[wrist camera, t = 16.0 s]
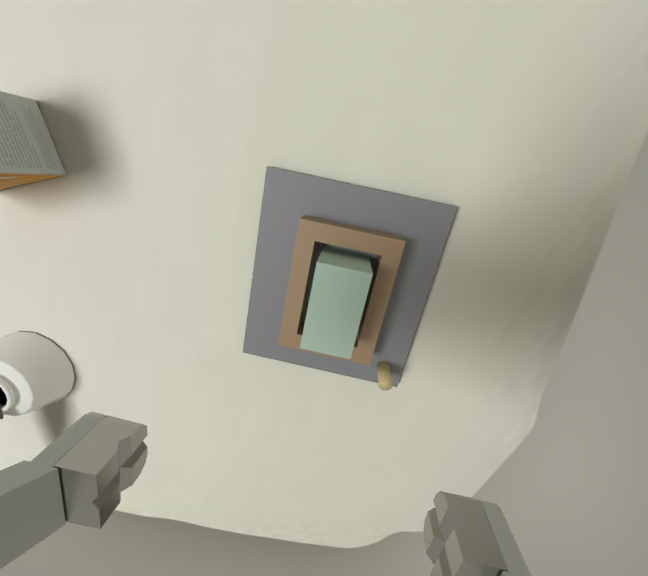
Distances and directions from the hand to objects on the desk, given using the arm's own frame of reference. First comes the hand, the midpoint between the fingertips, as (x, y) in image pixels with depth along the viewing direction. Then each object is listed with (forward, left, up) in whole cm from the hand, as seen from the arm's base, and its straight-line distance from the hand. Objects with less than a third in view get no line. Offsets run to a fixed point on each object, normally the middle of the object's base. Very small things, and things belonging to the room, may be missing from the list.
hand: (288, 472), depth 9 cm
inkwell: (+23, -31, -22) cm, 44 cm away
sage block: (+1, +1, -21) cm, 21 cm away
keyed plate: (+1, +1, -21) cm, 21 cm away
